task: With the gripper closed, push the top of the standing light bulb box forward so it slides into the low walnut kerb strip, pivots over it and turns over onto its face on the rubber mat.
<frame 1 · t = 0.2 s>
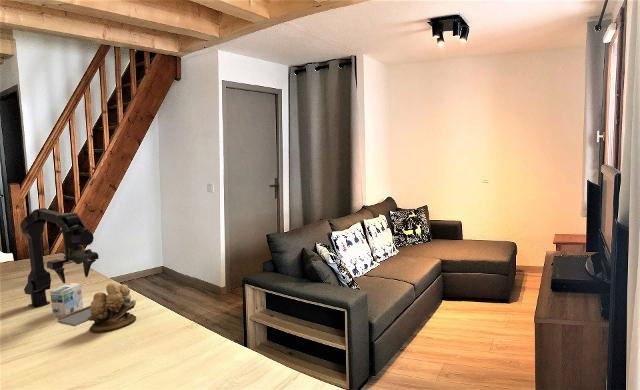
hand: (75, 280, 187), 14 cm above the table, fingers open, 9 cm apart
rubber mat: (87, 315, 185), on the table
light bulb box: (68, 311, 191), on the table
walnut kerb: (77, 313, 188), on the table
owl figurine: (114, 325, 174), on the table
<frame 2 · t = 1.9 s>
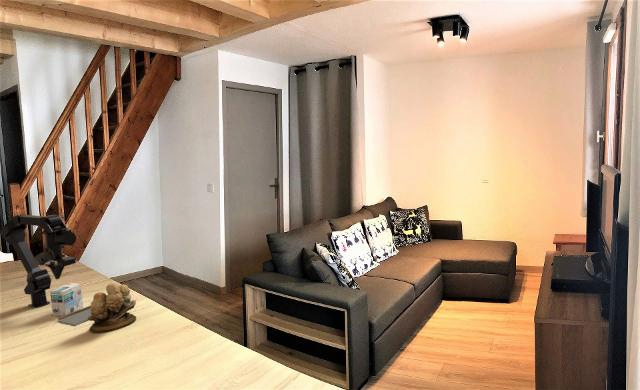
hand: (57, 279, 194), 13 cm above the table, fingers closed
nothing on the table moved.
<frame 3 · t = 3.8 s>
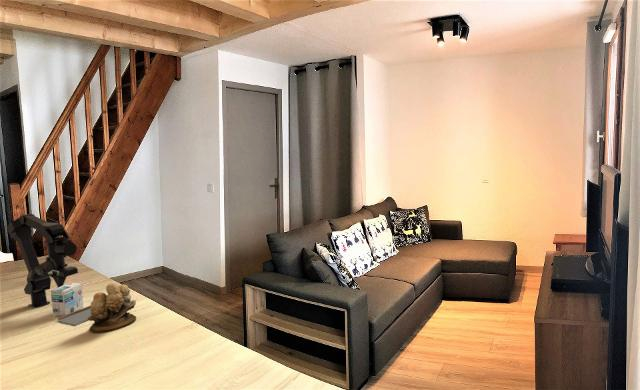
hand: (60, 288, 192), 9 cm above the table, fingers closed
light bulb box: (68, 311, 191), on the table, touching gripper
everything else where it was.
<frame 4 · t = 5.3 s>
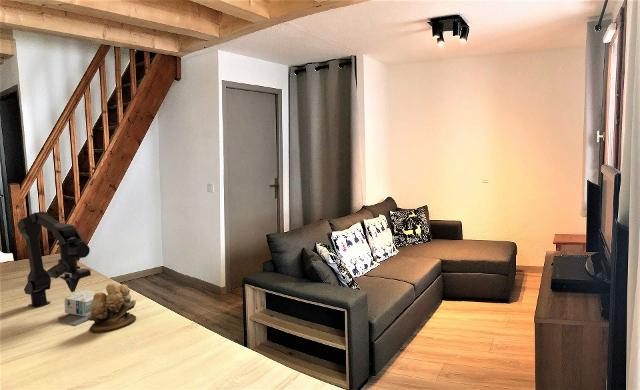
hand: (72, 291, 188), 9 cm above the table, fingers closed
light bulb box: (73, 300, 189), point 5 cm above the table, touching rubber mat, walnut kerb
everything else where it was.
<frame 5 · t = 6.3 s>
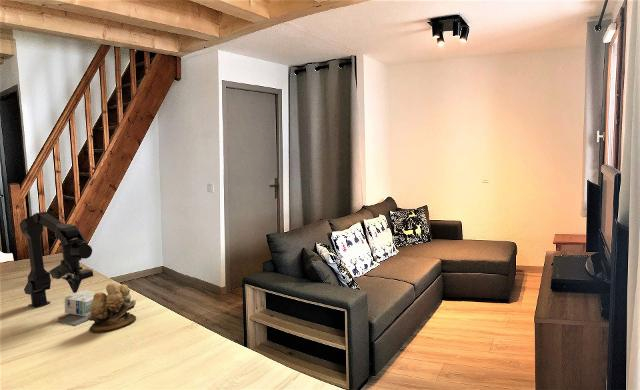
hand: (75, 292, 187), 9 cm above the table, fingers closed
nothing on the table moved.
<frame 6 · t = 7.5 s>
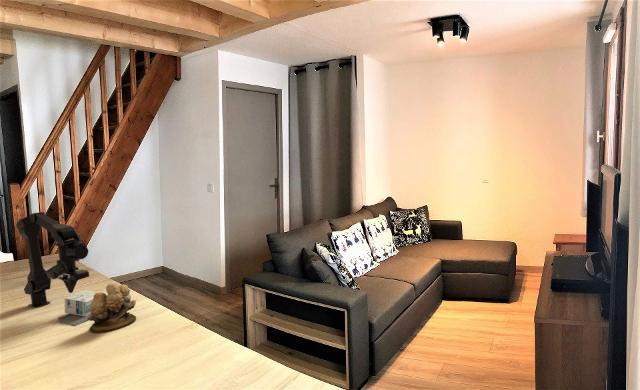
hand: (70, 292, 188), 9 cm above the table, fingers closed
nothing on the table moved.
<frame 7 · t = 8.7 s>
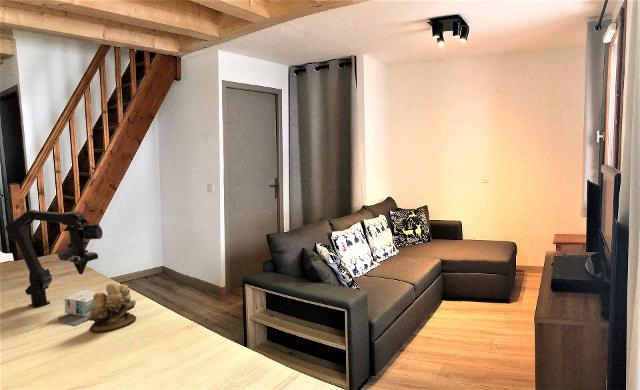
hand: (81, 274, 200), 13 cm above the table, fingers closed
nothing on the table moved.
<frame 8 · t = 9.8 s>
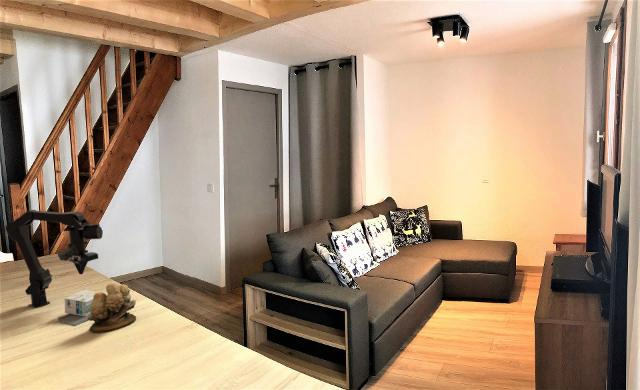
hand: (81, 274, 200), 13 cm above the table, fingers closed
nothing on the table moved.
at the end: light bulb box tilted 96°; light bulb box inside the target area (9.9 cm from its centre), point 4.8 cm above the table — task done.
